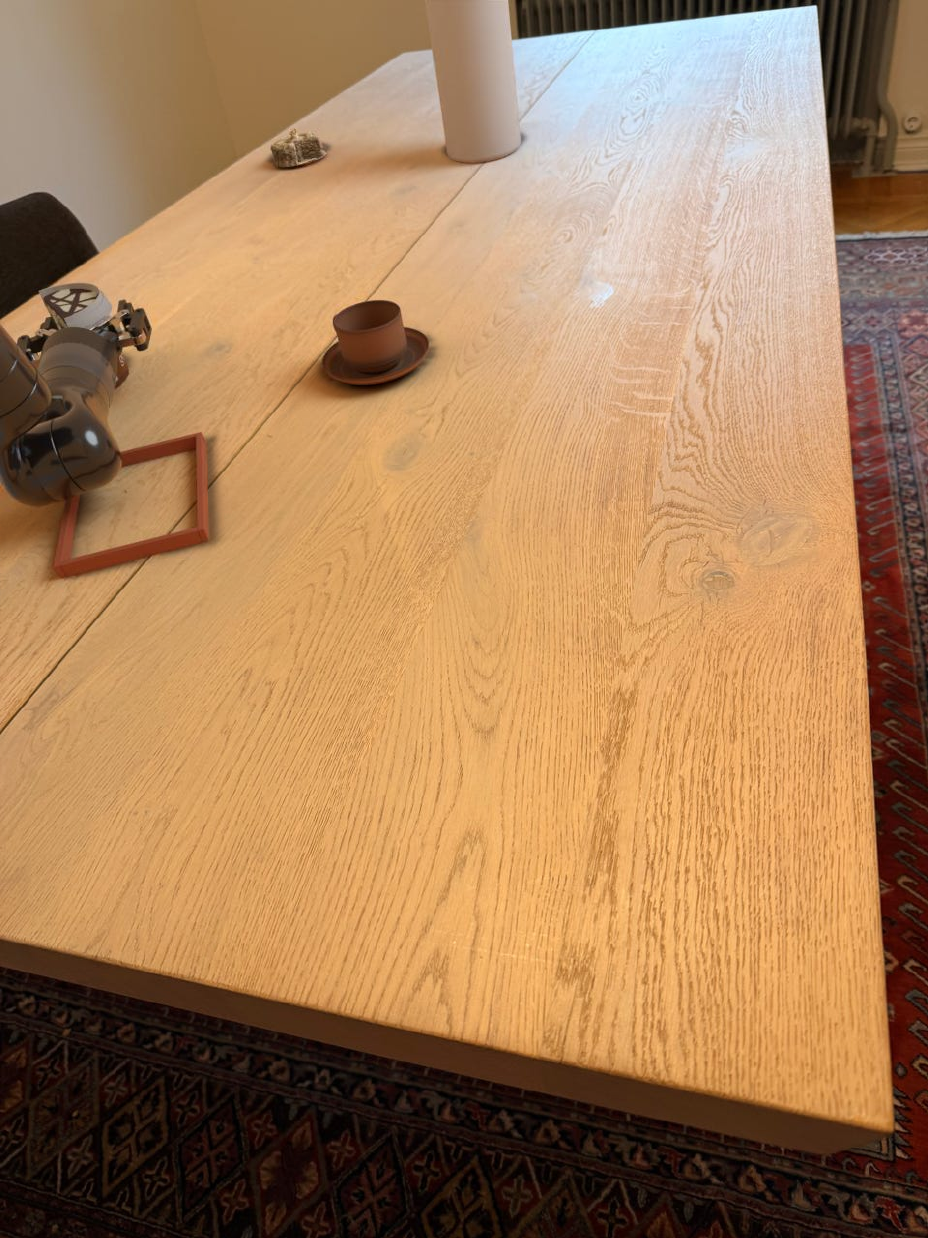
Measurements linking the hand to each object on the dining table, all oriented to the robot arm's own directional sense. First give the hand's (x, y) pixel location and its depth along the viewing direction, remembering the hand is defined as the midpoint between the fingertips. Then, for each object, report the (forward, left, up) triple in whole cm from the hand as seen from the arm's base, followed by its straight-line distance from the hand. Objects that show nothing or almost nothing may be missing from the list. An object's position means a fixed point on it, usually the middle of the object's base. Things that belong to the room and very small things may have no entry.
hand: (89, 315), depth 106 cm
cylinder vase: (+60, +51, -7) cm, 79 cm away
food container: (0, -1, -7) cm, 7 cm away
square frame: (+5, -34, -7) cm, 35 cm away
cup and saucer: (+31, -16, -7) cm, 36 cm away
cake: (+30, +70, -7) cm, 77 cm away
